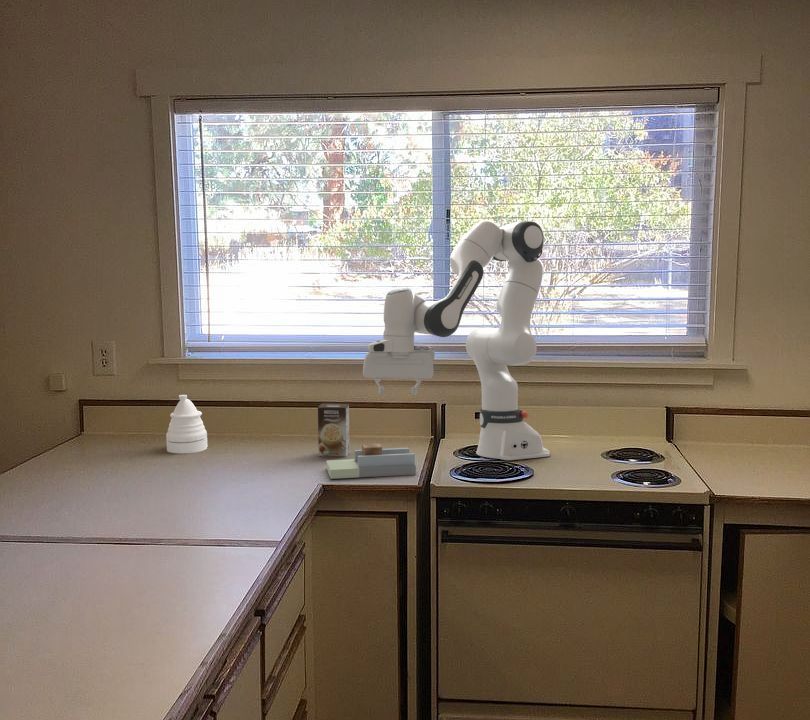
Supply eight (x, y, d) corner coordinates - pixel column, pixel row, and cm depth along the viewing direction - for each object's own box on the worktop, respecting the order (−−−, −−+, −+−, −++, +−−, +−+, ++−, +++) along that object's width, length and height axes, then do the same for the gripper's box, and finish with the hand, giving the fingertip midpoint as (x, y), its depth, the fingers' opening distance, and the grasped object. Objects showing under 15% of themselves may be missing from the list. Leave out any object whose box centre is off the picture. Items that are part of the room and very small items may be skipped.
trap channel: (407, 465, 233) (407, 446, 233) (415, 474, 222) (415, 455, 221) (326, 468, 229) (326, 450, 228) (330, 478, 217) (330, 459, 217)
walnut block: (379, 460, 228) (379, 443, 228) (382, 464, 223) (382, 447, 223) (362, 461, 227) (362, 444, 227) (364, 465, 222) (364, 447, 222)
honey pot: (201, 453, 251) (198, 397, 248) (161, 453, 251) (158, 398, 248) (212, 443, 263) (209, 390, 261) (173, 444, 264) (170, 391, 261)
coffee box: (317, 458, 244) (316, 407, 241) (321, 453, 250) (320, 403, 248) (347, 458, 243) (345, 407, 240) (350, 453, 249) (349, 403, 247)
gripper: (433, 345, 229) (432, 392, 230) (362, 344, 227) (362, 392, 228) (436, 346, 223) (435, 395, 224) (364, 345, 220) (363, 394, 221)
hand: (397, 393), depth 226 cm, fingers open, 8 cm apart
